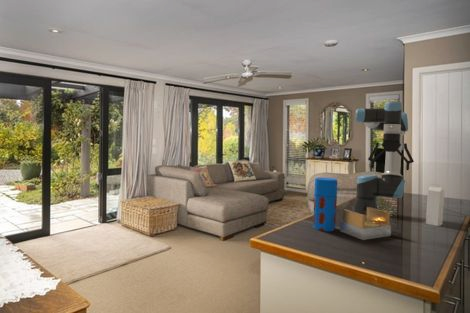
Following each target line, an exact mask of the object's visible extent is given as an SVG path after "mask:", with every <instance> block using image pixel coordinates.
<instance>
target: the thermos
mask: <svg viewBox="0 0 470 313" xmlns="http://www.w3.org/2000/svg"><path fill="white" fill-rule="evenodd" d="M313 198H314V199H313V217H312V218H313V220H312V221H313V224H312V225H313V229H315V230H317V231H321V232H333V231H335V230H336V222H337V221H336V220H337V198H338V179H337V178H333V177H316V178H315V179H314V197H313Z"/></svg>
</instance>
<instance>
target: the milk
mask: <svg viewBox="0 0 470 313" xmlns="http://www.w3.org/2000/svg"><path fill="white" fill-rule="evenodd" d="M444 201H445V189H444V186H443V184H434V183H430V186H429V188H428V189H427V200H426V215H425V224H426V225H430V226H434V227H440V226H442V225H443V217H444V203H445V202H444Z"/></svg>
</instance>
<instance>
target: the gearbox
mask: <svg viewBox="0 0 470 313" xmlns="http://www.w3.org/2000/svg"><path fill="white" fill-rule="evenodd" d="M390 213H391V212H390V211H387V210H381V209H379V208H378V209H375V208H371V207H367V214H362V213H357V212H354V211H353V210H349V209H346V208H345V209H343V210H342V220H340V226H339V227H340V229H339V230H340V231H339V232H341V233H344V234H347V235H349V236H352V237H354V238H356V239H358V240H359V239H360V240H362V241H366V240H372V239H378V238H379V239H380V238H385V237H391V236H392V235H391V234H392V225H391V224H390V218H391V217H390V216H391V214H390Z"/></svg>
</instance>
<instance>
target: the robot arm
mask: <svg viewBox="0 0 470 313" xmlns="http://www.w3.org/2000/svg"><path fill="white" fill-rule="evenodd" d="M402 111H403V103H402V101H399V100H398V101H394V100H393V101H387V102H386V103H384V107H382V108H381V107H380V108H370V107H369V108H363V107H362V108H357V109H356V110H355V121H356V122H357V123H361V124H362V123H363V124H364V125H365V127H367V129H371V130H375V131H382V132H383V135H382V136H383V137H382V142H381V143H380V142H376V143H375V147H374V149H373V150H372V152H370V155H369V157H368V158H367V160H368V161H369V162H371V168H372V169H373V174H364V175H358V177H357V180H356V198H355V201H354V203H353V204H354V205H353V206H352V211H353V212H357V213H360V214H363V215H367V207H371V208H375V209H379V206H378V202H377V197H380V198H381V197H382V198H391V199H401V198H402V197H403V195H404V190H405V184H406V179H405V178H407V171H409V169H410V164H412V163H414V162H415V161H414V158H413V157H412V154H411V152H410V151H409V149H408V145H407V144H408V143H407V142H406V143H405V142H404V143H403V136H405V135H406V132H408V131H409V122H408V121H409V120H408V115H407V113H406V112H402ZM381 146H382V148H383V149H382V150H381V151H379V153H377V155H375V153H376V152H377V151H378V148H380V147H381ZM402 148H403V149H404V151H405V153H406V156H407V157H408V159H407V157H406V156H405V155H404V154H403V153H402ZM384 153H385V161H384V162H385V164H384V172H383V173H382V174H381V177H379V176H378V175H377V174H376V171H377V170H376V168H377V167H376V166H377V159H379V157H381V155H383V154H384ZM374 155H375V157H374ZM402 160H403V161H405V163H404V167H403V175H402V174H401V168H402V167H401V163H402V162H401V161H402Z"/></svg>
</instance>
